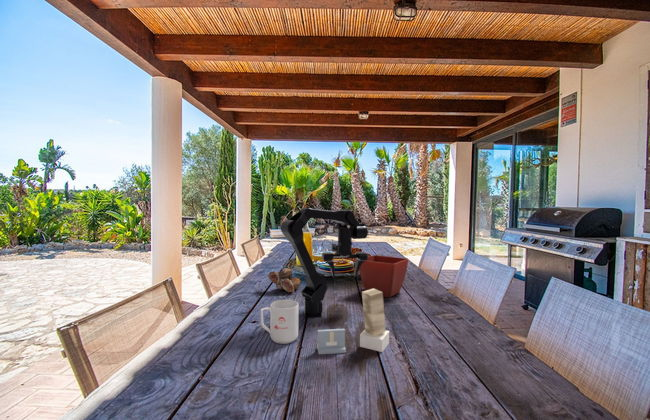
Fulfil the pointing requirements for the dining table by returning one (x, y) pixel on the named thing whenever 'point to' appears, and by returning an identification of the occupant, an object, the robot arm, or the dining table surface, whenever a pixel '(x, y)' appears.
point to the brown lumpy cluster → (284, 280)
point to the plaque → (331, 341)
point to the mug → (282, 321)
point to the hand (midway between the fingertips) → (344, 276)
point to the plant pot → (383, 274)
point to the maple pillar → (373, 311)
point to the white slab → (374, 341)
